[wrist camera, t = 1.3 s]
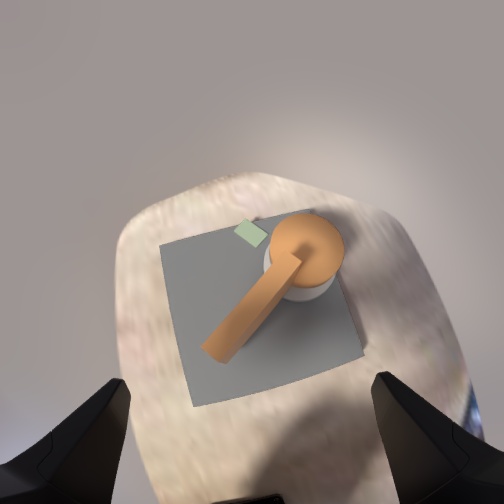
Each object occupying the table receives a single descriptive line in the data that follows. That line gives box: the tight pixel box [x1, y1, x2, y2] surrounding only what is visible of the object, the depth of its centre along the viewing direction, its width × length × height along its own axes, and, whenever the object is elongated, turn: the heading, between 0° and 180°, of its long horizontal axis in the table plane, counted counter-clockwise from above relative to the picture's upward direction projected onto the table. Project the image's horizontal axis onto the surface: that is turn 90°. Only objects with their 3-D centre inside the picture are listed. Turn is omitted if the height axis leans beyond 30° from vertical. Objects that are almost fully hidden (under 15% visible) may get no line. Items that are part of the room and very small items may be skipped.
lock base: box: [159, 209, 365, 407], centre depth 21 cm, size 14×14×4 cm
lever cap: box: [201, 213, 344, 364], centre depth 18 cm, size 12×5×5 cm, turn 141°
